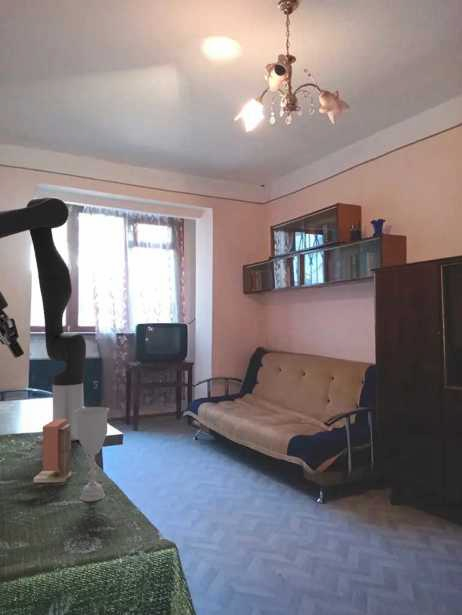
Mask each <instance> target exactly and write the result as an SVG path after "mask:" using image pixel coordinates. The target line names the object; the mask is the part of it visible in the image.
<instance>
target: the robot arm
mask: <svg viewBox="0 0 462 615" xmlns="http://www.w3.org/2000/svg"><path fill="white" fill-rule="evenodd" d="M69 214H70V213H69V208H68V206H67V204H66V203H65V201H63V199H60V198H58V197H56V196H55V197H54V196H46V197H39V198H34V199H31V200H30V201H28V202H27V204H26V207H22V208H16V209H9V210H8V209H7V210H1V211H0V239H3V238H6V237H10V236H13V235H16V234H20V233H23V232H26V231H28V232H29V235H30V237H31V238H30V239H31V242H32V247H33V250H34V257H35V264H36V269H37V277H38V284H39V290H40V296H41V301H42V310H43V319H44V335H45V337H44V338H45V348H46V354H47V356H48V358H49V359H50V361H52V362H55V363H65V368H64V369H63V370H62V371H60V372H59V373H55V374H54V375H53V376H52V421H53V420H55V419H68V424H71V442H72V441H74V442H75V441H79V439H78V436H77V416H76V414H75V412H74V411H75V410H77V409H81V408H85V407H84V378H85V374H86V358H87V343H86V340H85V337H84V336H83V335H82V334H81V333H78V332H64V325H63V316H64V313H65V310H66V308H67V307H68V306H67V305H69V301H70V299H71V297H72V293H73V290H72V289H73V288H72V281H71V280H72V279H71V273H70V270H69V266H68V265H67V263H66V262H65V260H64V258H63V256H61V254H60V253H59V251H58V249H57V247H56V245H55V242H54V237H53V231H52V230H53V229H58V228H60V227H62V226H64V225H65V224H66V223H67V222H68V219H69ZM8 304H9V303H8V302H7V300H6V298H5V296H4V295H3V293H2V291H1V290H0V343H1V345H3V346H6V347H8V349H9V351H10V352H11V354H12V356H13V358H15V359H17V358H20V357H22V356H23V355H24V354H25V351H24V350H23V349H22V347H21V345H20V343H19V342H18V341H19V340H18V338H19V337H20V336H19V332H18V328H17V325H16V322H15V321H16V320H15V319H14V318H10V316H9V315H8V314H7V313H6V312H5V311H4V309H6V308H8V306H9V305H8Z"/></svg>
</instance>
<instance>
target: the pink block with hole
mask: <svg viewBox="0 0 462 615" xmlns="http://www.w3.org/2000/svg"><path fill="white" fill-rule="evenodd" d="M66 424H68V419H55V420H53V419H52V421H50V422H48V423H47V424H45V425H42V439H43V450H42V471H57V470H59V429H60V428H62V427H63V426H65V425H66Z"/></svg>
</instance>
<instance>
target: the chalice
mask: <svg viewBox="0 0 462 615" xmlns="http://www.w3.org/2000/svg"><path fill="white" fill-rule="evenodd" d="M109 411H110V408H109V407H104V406H103V407H102V406H91V407H89V406H88V407H84V408H81V409H77V410H75V411H74V412H75V414H76V416H77V436H78V441H79V443H80V446H81V448H82V449H83V452H84V453H85V455H87V456H88V455H89V463H88V465H89V466H88V467H89V472H87V474H88V475H89V478H90V479H89V482H88V484H86V485H85V486H84V487H83V490H82V492H81V495H80V497H79V500H81V501H83V502H84V501H85V502H94V501H95V502H96V501H99V500H102V499H104V498H105V497H106V494H105V492H104V489H103V488H102V487H103V486H102V485H101V484H100V483H97V481H96V475H97V474H98V472H97V471H96V466H97V462H96V459H95V458H96V455H98V454H99V453H100V451H101V450H102V447H103V445H104V442H105V440H106V437H107V433H108V413H109Z"/></svg>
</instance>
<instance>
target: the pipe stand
mask: <svg viewBox="0 0 462 615" xmlns="http://www.w3.org/2000/svg"><path fill="white" fill-rule="evenodd" d="M35 451H36V452H37V451H42V452H43V438H38V439H37V440H35ZM71 475H72V441H71V424H66V425H65V426H63V427H62V428H60V429H59V469H58V470H57V471H43V470H42V471H40V472H39V473H38V474H37V475H36V476H34V477H33V478H32V479H33V482H32V483H33V484H35V483H36V484H38V483H40V484H42V483H44V484H45V483H65V482H66V481H67V480H68V479H69V478H70V477H71Z"/></svg>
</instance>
